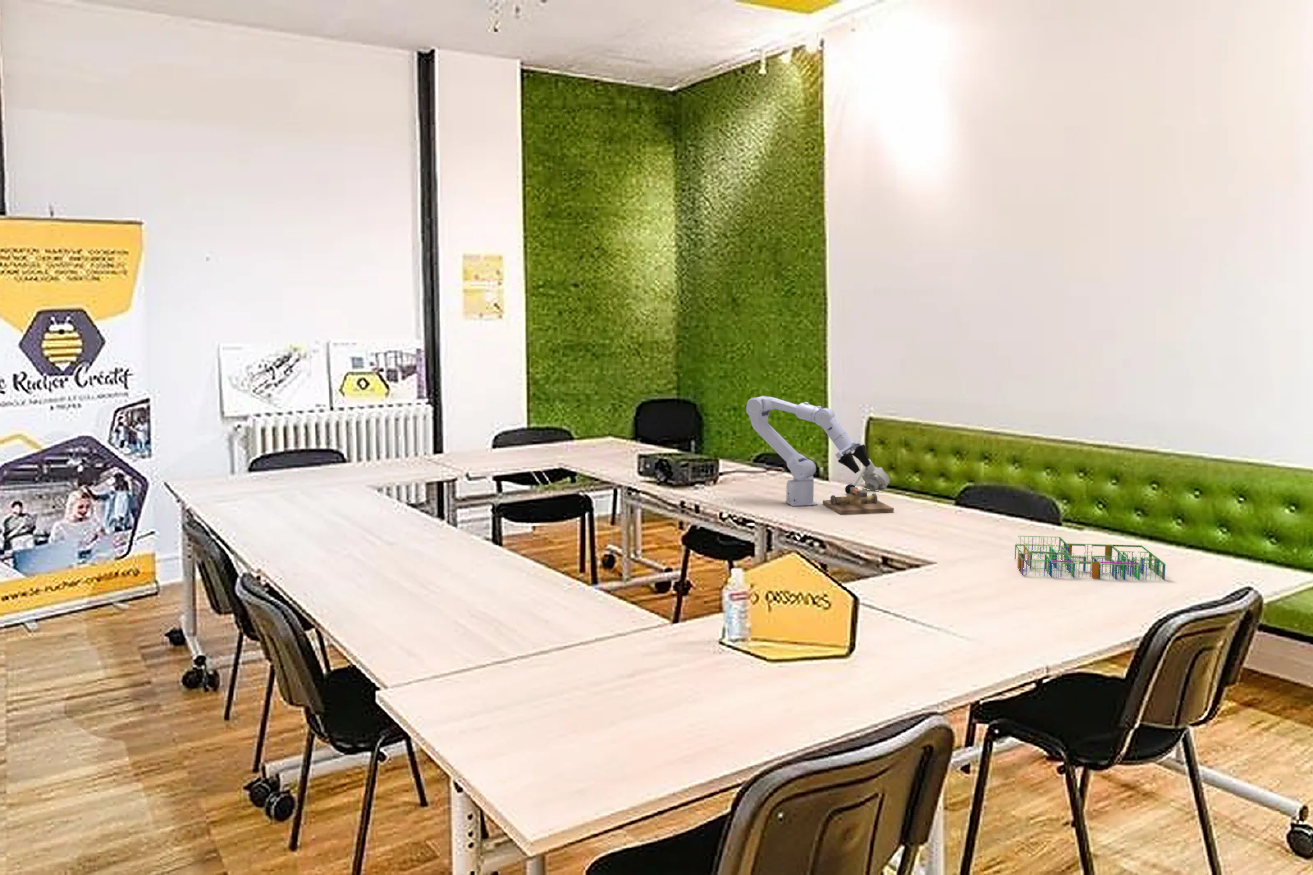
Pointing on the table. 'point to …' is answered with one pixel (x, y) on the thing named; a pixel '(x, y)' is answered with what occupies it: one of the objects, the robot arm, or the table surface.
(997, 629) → the table surface
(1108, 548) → the house model
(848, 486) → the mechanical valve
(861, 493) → the valve lever
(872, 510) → the valve board
